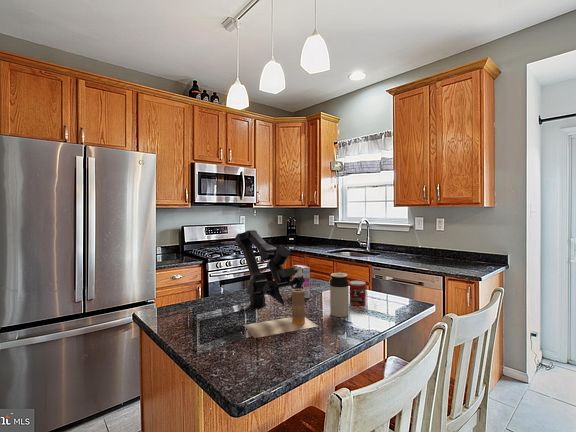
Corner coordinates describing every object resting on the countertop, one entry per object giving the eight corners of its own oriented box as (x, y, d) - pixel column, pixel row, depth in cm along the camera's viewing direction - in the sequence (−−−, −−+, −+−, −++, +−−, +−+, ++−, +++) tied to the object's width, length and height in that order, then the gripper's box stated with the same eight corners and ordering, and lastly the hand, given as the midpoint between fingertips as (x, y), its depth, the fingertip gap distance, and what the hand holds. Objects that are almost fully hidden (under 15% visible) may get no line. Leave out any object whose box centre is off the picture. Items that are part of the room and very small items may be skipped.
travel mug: (348, 318, 135) (348, 276, 135) (329, 317, 137) (329, 276, 137) (348, 312, 143) (348, 272, 143) (331, 311, 145) (330, 272, 145)
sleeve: (292, 324, 124) (292, 292, 124) (292, 320, 129) (291, 288, 129) (305, 324, 124) (304, 291, 124) (304, 320, 129) (304, 288, 129)
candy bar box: (311, 298, 167) (310, 267, 166) (302, 299, 165) (302, 268, 164) (301, 293, 177) (301, 264, 177) (293, 294, 175) (293, 264, 174)
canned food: (347, 305, 153) (347, 283, 153) (352, 301, 160) (352, 280, 160) (363, 308, 149) (363, 284, 149) (367, 303, 156) (367, 281, 156)
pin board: (254, 342, 112) (254, 328, 112) (243, 328, 125) (243, 316, 125) (318, 329, 123) (318, 317, 123) (302, 318, 135) (302, 307, 135)
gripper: (266, 262, 128) (281, 295, 120) (302, 257, 139) (318, 287, 131) (256, 278, 135) (270, 310, 126) (291, 272, 146) (307, 302, 137)
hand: (292, 302), depth 130 cm, fingers open, 9 cm apart
